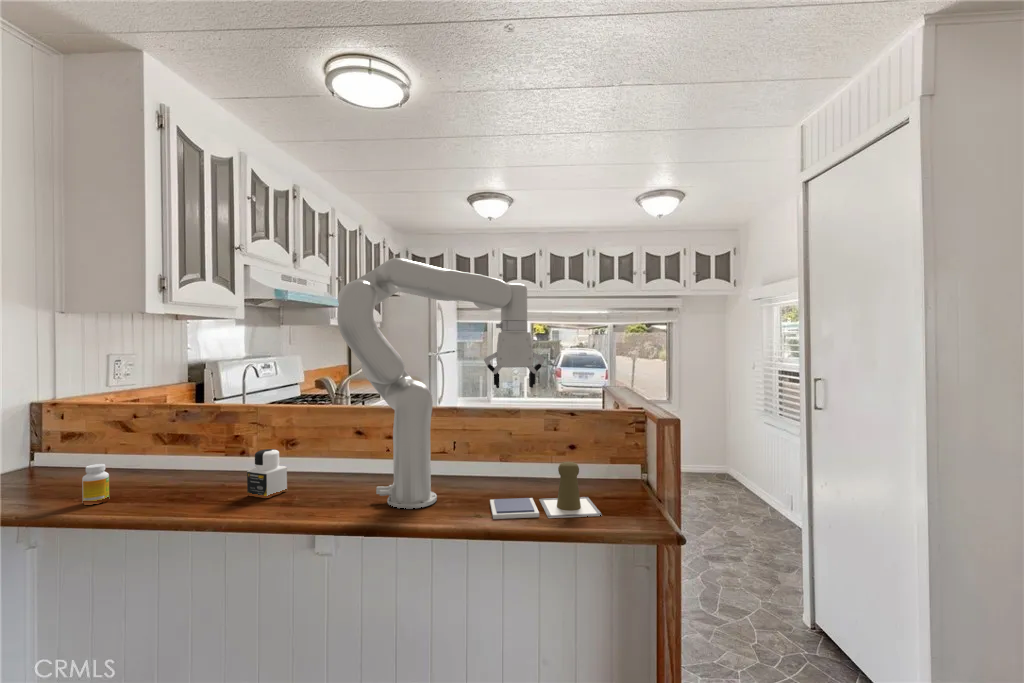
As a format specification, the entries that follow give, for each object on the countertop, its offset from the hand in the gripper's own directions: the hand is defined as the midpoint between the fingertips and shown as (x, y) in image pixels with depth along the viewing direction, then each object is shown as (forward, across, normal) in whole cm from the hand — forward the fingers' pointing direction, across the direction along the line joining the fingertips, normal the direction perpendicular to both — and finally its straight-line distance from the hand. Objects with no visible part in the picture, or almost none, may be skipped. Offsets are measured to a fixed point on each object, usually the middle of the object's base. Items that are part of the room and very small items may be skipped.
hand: (514, 387), depth 145 cm
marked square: (+28, +12, -20) cm, 36 cm away
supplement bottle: (+28, -110, -1) cm, 114 cm away
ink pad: (+28, -2, -20) cm, 34 cm away
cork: (+28, +11, -20) cm, 36 cm away
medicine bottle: (+28, -68, +1) cm, 74 cm away
